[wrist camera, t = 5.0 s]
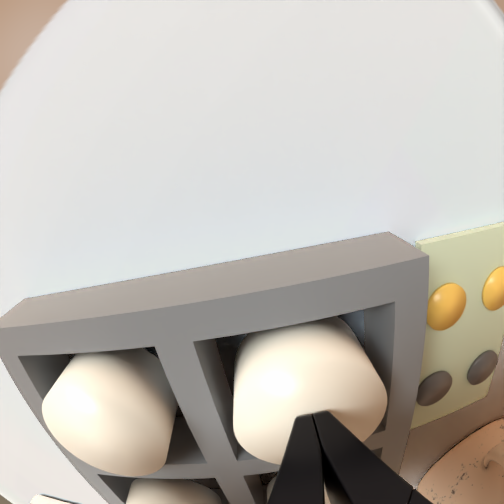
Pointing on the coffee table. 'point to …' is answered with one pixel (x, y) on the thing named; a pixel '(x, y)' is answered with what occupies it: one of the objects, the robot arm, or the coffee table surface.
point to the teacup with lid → (469, 470)
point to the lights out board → (273, 316)
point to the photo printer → (45, 500)
